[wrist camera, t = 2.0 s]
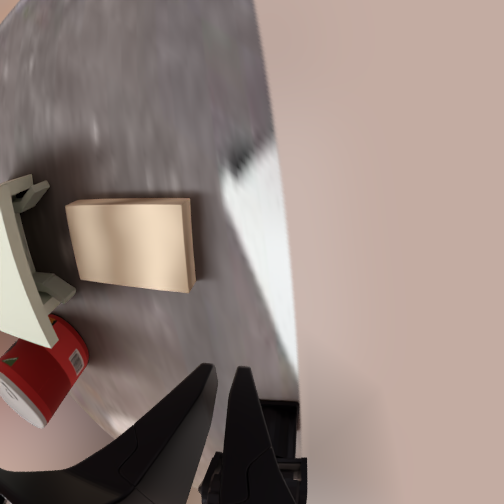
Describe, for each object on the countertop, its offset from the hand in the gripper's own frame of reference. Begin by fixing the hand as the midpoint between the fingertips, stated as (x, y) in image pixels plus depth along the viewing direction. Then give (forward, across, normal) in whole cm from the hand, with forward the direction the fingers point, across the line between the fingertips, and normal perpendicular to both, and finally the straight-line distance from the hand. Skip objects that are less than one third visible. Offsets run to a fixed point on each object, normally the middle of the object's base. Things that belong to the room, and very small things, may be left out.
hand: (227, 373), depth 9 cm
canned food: (+12, +24, +12) cm, 29 cm away
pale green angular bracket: (+12, +21, 0) cm, 25 cm away
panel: (+12, +10, 0) cm, 16 cm away
